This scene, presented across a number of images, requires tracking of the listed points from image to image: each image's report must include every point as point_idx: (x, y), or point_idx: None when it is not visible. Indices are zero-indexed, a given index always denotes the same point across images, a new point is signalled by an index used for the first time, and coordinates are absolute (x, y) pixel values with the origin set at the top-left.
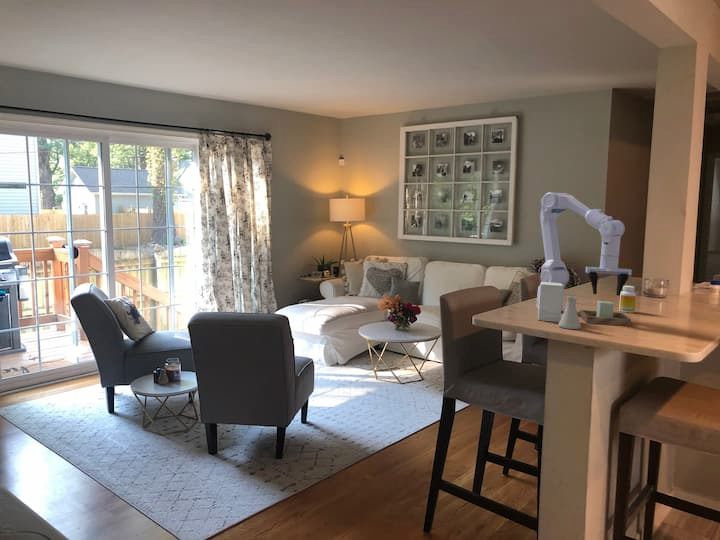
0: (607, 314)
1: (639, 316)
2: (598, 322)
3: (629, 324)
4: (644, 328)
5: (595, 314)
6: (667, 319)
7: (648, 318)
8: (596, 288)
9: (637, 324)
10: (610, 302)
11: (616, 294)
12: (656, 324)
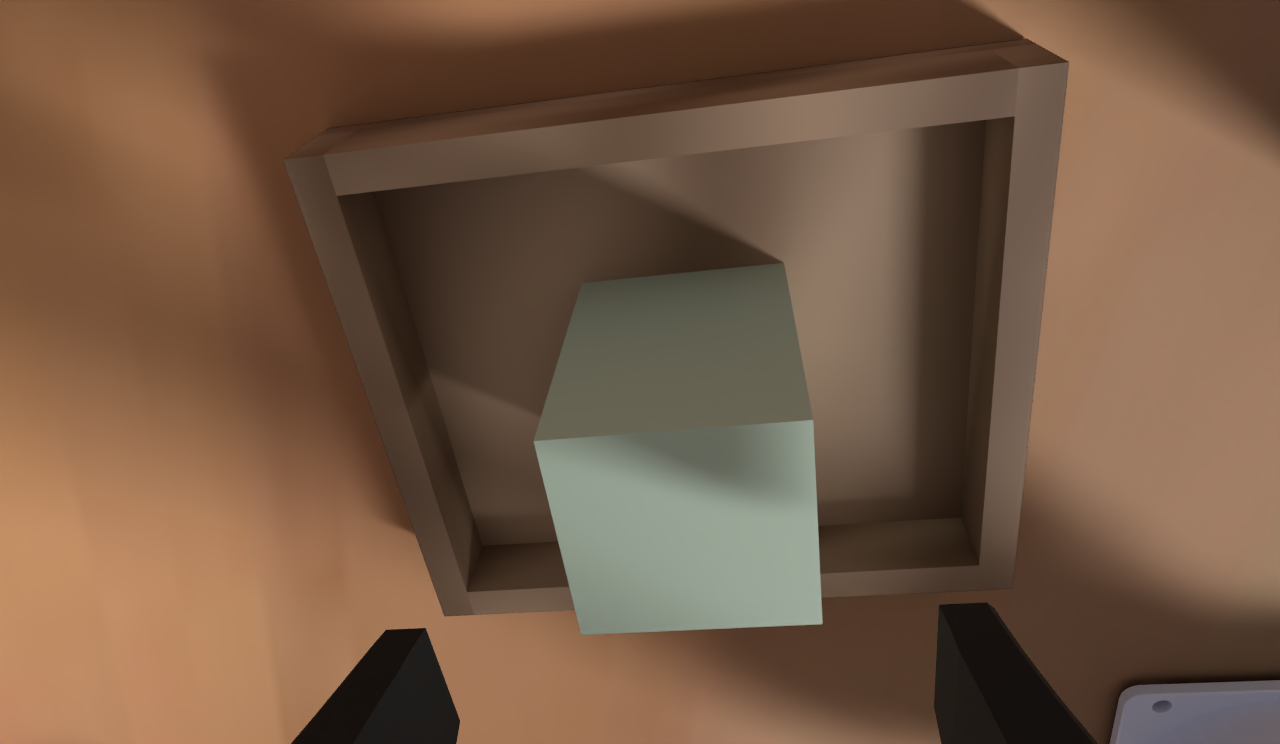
0: (655, 322)
1: (282, 730)
2: (823, 67)
3: (334, 133)
4: (116, 27)
5: None
6: (13, 690)
7: (186, 674)
8: (1007, 722)
9: (249, 297)
10: (591, 564)
11: (454, 720)
12: (41, 400)
